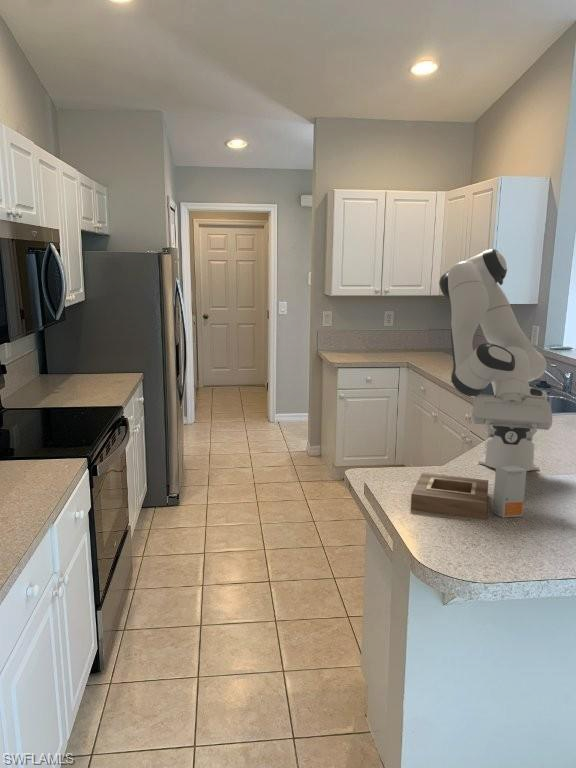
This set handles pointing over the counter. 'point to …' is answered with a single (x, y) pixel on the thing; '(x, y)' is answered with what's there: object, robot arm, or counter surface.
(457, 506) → the walnut socket board
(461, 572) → the counter surface
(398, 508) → the counter surface
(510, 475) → the skincare box
